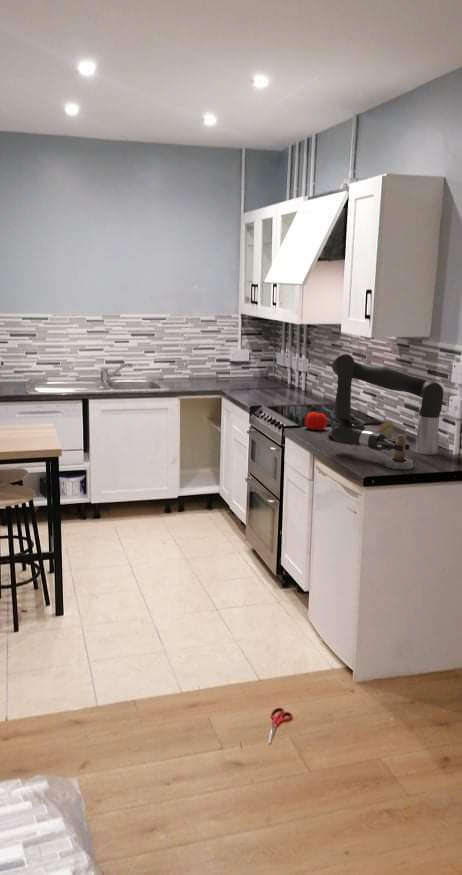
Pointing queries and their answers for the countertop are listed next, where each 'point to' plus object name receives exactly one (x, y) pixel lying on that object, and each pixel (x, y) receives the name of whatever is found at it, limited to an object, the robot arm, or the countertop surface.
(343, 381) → the robot arm
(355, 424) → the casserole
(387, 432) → the rock
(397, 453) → the dowel
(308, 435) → the countertop surface
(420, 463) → the countertop surface
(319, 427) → the tomato
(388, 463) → the collar
